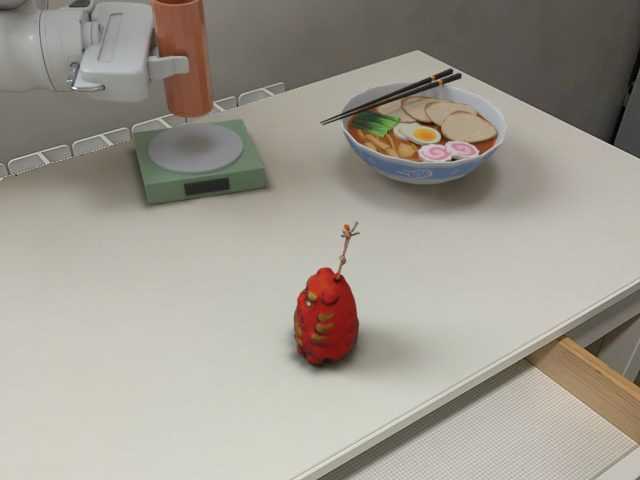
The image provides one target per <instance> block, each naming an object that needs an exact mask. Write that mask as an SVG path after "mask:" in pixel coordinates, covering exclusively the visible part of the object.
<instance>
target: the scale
mask: <svg viewBox="0 0 640 480" xmlns="http://www.w3.org/2000/svg"><path fill="white" fill-rule="evenodd" d="M132 137H133V143H134V148H135V152H136V156H137V160H138V164H139V169H140V173H141V177H142V181H143V185H144V189H145V193H146V197H147V202H148V205H156V204H163V203H168V202H169V203H170V202H175V201H176V202H177V201H183V200H189V199H197V198H204V197H210V196H211V197H212V196H217V195H223V194H224V195H225V194H230V193H231V194H232V193H238V192H245V191H252V190H259V189H263V188H266V175H265V166H264V164H263V162H262V160H261V158H260V156H259V153H258V151H257V149H256V147H255V144H254V142H253V140H252V138H251V136H250V134H249V131H248V129H247V127H246V125H245V123H244V120H243V118H239V119H230V120H223V121H222V120H221V121H214V122H207V123H204V122H195V123H193V122H192V123H184V124H179V125H176V126H173V127H168V128H159V129H152V130H144V131H135V132H132Z"/></svg>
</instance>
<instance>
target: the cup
mask: <svg viewBox="0 0 640 480" xmlns="http://www.w3.org/2000/svg"><path fill="white" fill-rule="evenodd" d="M150 6H151V7H152V13H153V20H154V26H155V32H156V39H157V45H158V46H157V51H158V58H163V57H169V56H173V54H174V53H186V54H188V56H189V62H190V70H189V73H187V74H174V75H171V76H169V77H166V78H163V79H162V82H163V89H164V94H165V100H166V106H167V110H168V112H169V113H170V114H171V115H173V116H176V117H179V118H185V119H194V118H200V117H203V116H205V115H208V114H210V113H212V111H213V110H214V105H215V104H214V92H213V83H212V73H211V64H210V56H209V46H208V45H209V43H208V35H207V27H206V26H207V25H206V17H205V5H204V0H150Z"/></svg>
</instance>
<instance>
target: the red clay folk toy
mask: <svg viewBox="0 0 640 480" xmlns="http://www.w3.org/2000/svg"><path fill="white" fill-rule="evenodd" d="M358 224H359V221H355V223H354V224H353V226H352V227H351V228H350V224H343V228H341V230H342V234H341V235H340V237H341V238H345V241H344V245H343V251H342V254H341V255H339V256H338V260H339V261H340V262H339V266H338V268H337V272H336V273H335V272H334V270H333V269H332V268H331V267H328V266H325V267H320V268H318V270H317V271H316V273H315V274H312V275H310V276H309V278H308V279H307V280H306V283H305V288H304V289H303V290H301V292H300V293H299V295H298V297H297V298H296V303H297V304H296V307H295V310H294V313H293V330H294V340H295V342H296V350H297V353H298V355H301V356H302V357H303V358H304V359H305V360H306V362H307V363H308V364H309V365H312V366H320V365H321V364H324V363H325V362H327V363H329V364H330V363H335V362H338V361H340V360H342V359H343V358H345V357H346V356H347V355H348V354H349V353H350V352H351V350H352V348H353V346H354V345H356V343H357V342H358V339H359V332H360V331H359V330H360V320H359V317H358V310H357V303H356V299H355V296H354V293H353V291H352V288H351V286H350V284H349V283H348V281H347V280H346V278H345V276H344V275H343V274H341V272H342V268H343V266H344V265H345V264H346V263H347V258H346V252H347V250H348V246H349V243H350V240H351V238H352V237H354V236H357V235H361V233H360V232H359V231H356V232H354V231H355V230H356V228H357V226H358ZM353 232H354V233H353Z"/></svg>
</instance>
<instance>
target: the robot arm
mask: <svg viewBox="0 0 640 480" xmlns="http://www.w3.org/2000/svg"><path fill="white" fill-rule="evenodd" d="M157 51H158V45H157V39H156V32H155V26H154V20H153V13H152V7H151V4H147V3H144V2H130V1H101V2H99V3H97V4H95V0H74V1H73V2H71V3H69V4H68V5H66V6H63V7H59V8H56V9H49V0H0V94H25V93H29V92H31V91H35V90H45V91H49V92H53V93H76V94H83V95H84V94H86V96H87V97H88V98H89V99H91V100H94V101H99V102H110V103H111V102H113V103H140V102H143V101H146V100H148V99H149V98H150V92H151V88H152V87H151V86H152V81H153V80H163V78H166V77H169V76H171V75H174V74H187V73H189V70H190V62H189V56H188V54H186V53H174V54H173V56H169V57H163V58H159V55H157Z"/></svg>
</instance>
